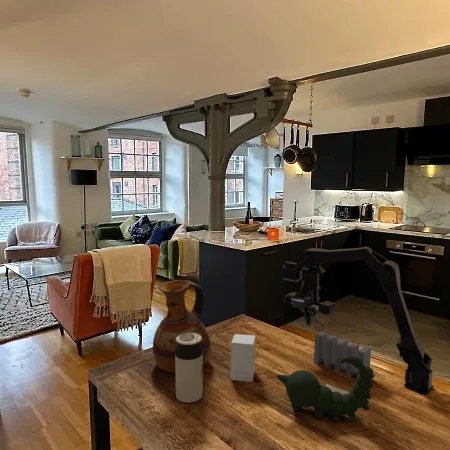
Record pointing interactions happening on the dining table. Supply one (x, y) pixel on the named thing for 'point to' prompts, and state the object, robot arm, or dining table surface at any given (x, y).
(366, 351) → the tile
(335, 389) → the tile
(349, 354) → the grey block
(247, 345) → the supplement box
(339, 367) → the tile
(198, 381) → the travel mug
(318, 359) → the tile
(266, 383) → the dining table surface
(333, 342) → the tile
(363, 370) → the toy figurine
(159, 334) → the ceramic pitcher
